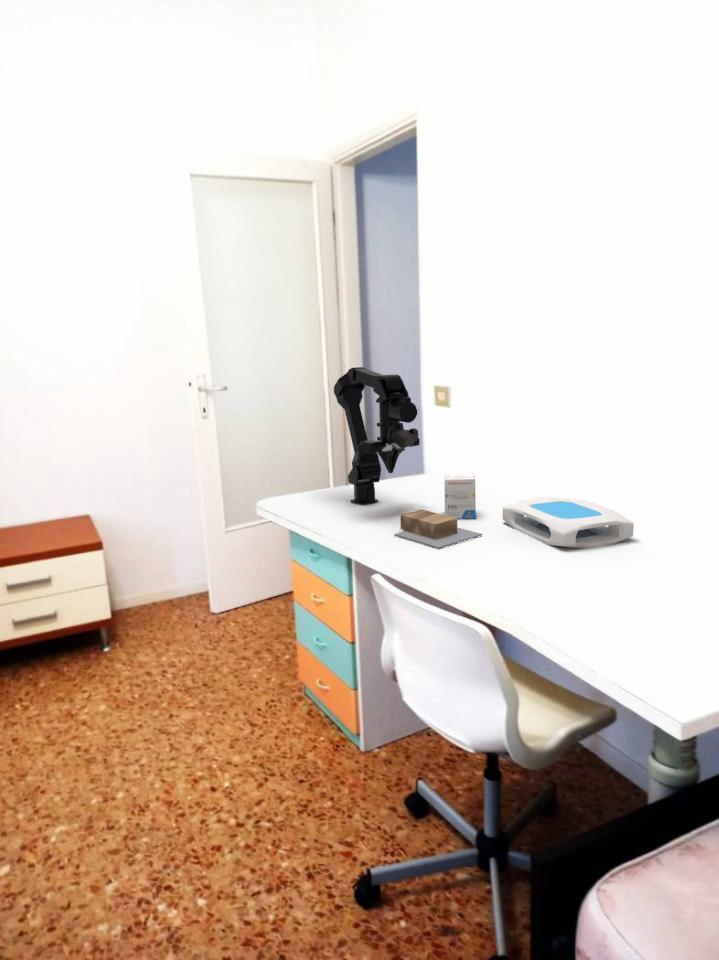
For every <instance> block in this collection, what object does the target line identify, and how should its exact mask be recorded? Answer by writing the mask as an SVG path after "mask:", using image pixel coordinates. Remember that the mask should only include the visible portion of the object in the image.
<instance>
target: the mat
mask: <svg viewBox="0 0 719 960" xmlns="http://www.w3.org/2000/svg"><path fill="white" fill-rule="evenodd" d="M481 535H483V533H481V532H477V531H472V530H469V529H465V528H461V527H458V526H457V533H456V534H453V535H449V536H446V537H443V538H439V539H436V540H435V539H432V538H429V537H425V536H422V535H418V534H415V533H411V532H408V531H405V530H403V531H400V532H398V533H397V532H396V533H394V536H395V537H397V538H401V539H404V540H407V541H411V542H413V541H414V543H417V544H420V545H423V544H424V546H426V545H427V547H430V546H432V547H431V548H433V547H435V548H434V549H436V548H438V549H437V550H441V549H444V548H443V547H445V546H448V547H450V546H449V545H451V546H453V545H452V544H454V545H456V544H455V543H458V542H461V541H464V540H467V541H469V540H468V539H471V538H474V537H477V538H479V537H478V536H480V537H482V536H481ZM483 536H484V535H483ZM474 539H475V538H474ZM471 540H472V539H471ZM464 542H465V541H464ZM461 543H462V542H461ZM458 544H459V543H458ZM440 548H441V549H440ZM445 548H446V547H445Z"/></svg>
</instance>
